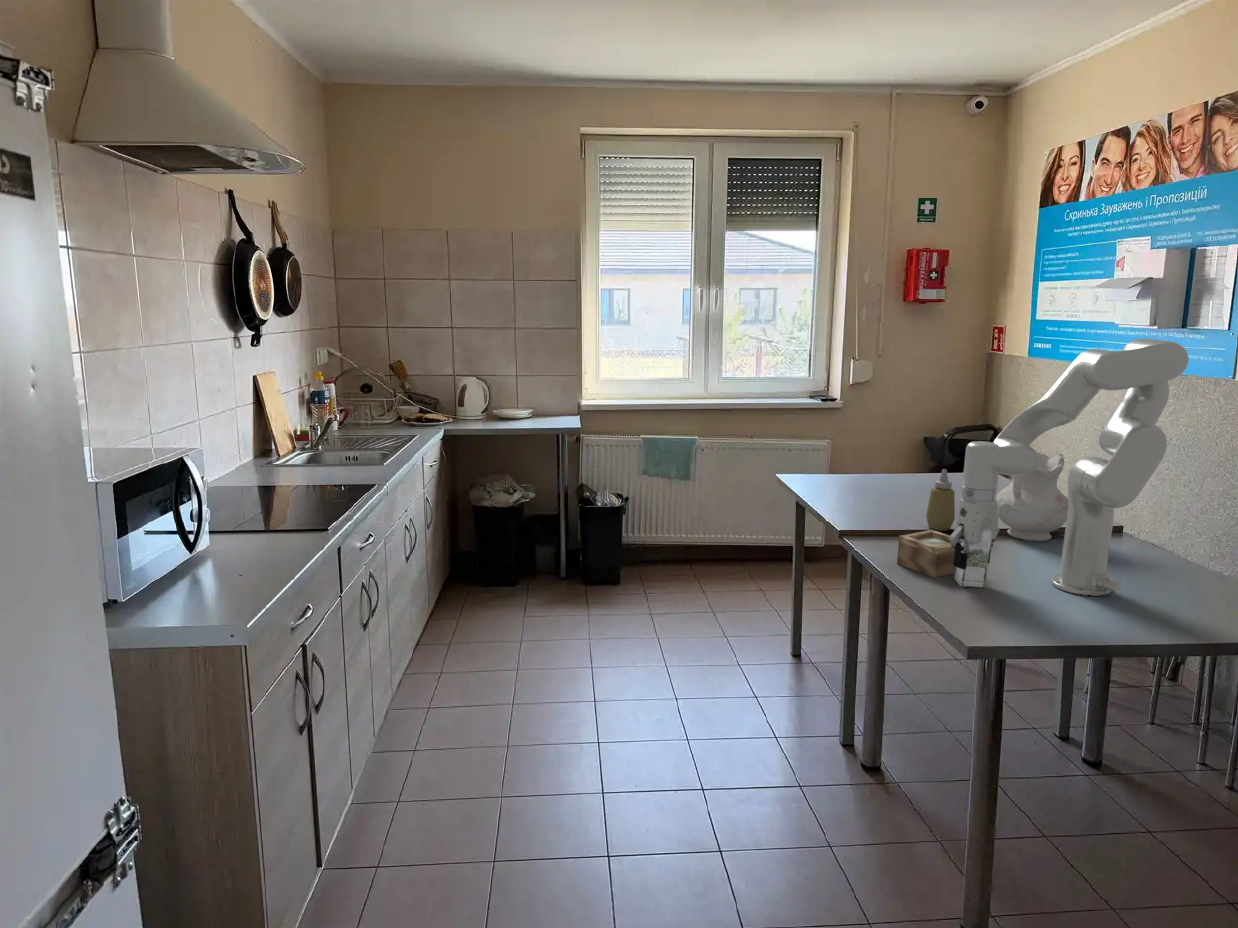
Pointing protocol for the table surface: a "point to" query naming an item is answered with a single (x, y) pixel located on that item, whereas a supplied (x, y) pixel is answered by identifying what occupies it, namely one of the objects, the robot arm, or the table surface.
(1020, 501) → the ceramic pitcher
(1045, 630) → the table surface
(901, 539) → the wooden box
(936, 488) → the squeeze bottle
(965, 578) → the syrup box
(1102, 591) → the robot arm
